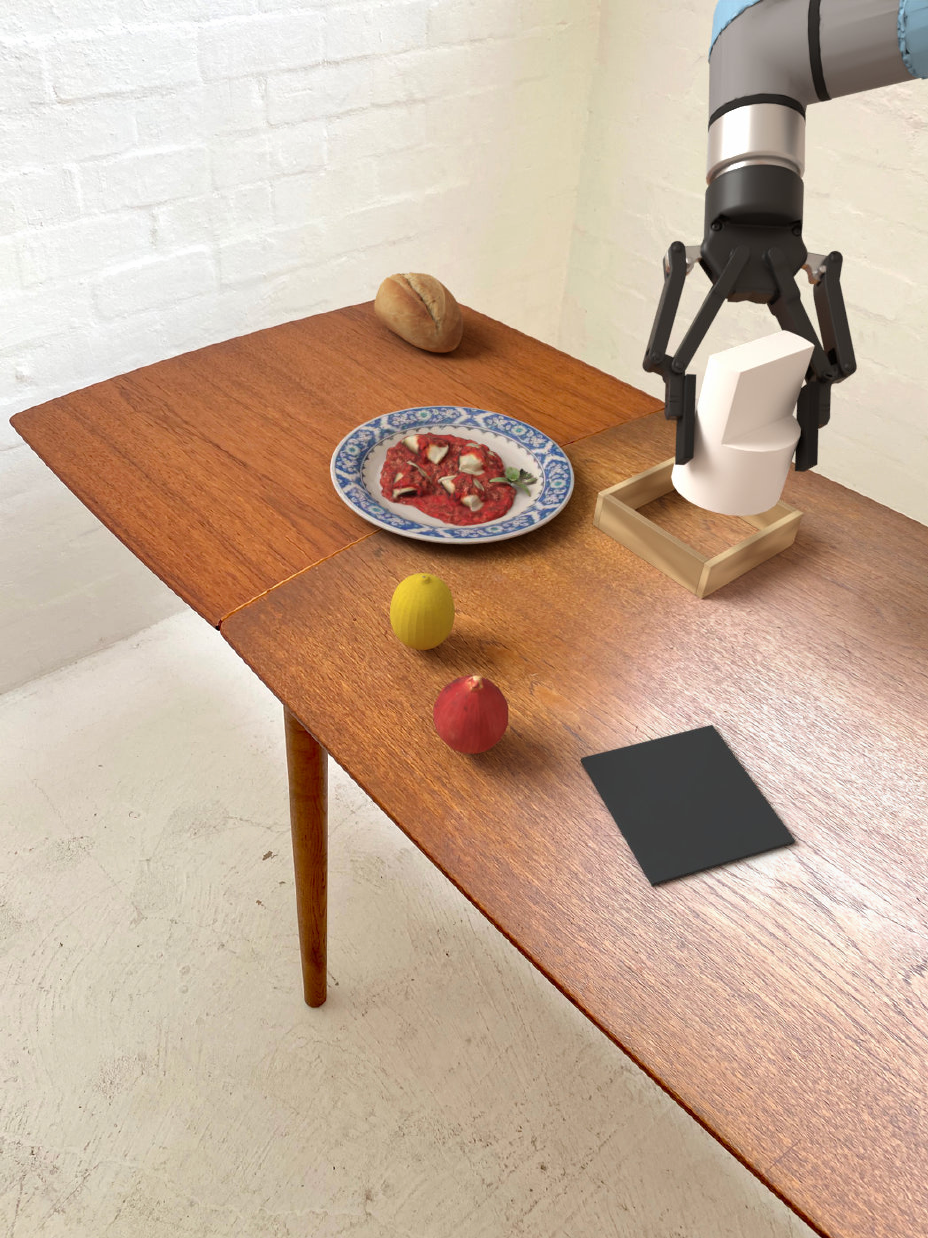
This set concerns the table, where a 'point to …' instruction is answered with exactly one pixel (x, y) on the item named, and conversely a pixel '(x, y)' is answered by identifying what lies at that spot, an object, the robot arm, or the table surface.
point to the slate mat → (685, 804)
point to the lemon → (422, 611)
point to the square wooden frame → (675, 555)
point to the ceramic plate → (452, 474)
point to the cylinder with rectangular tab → (746, 426)
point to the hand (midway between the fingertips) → (745, 464)
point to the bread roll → (420, 311)
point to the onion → (471, 714)
